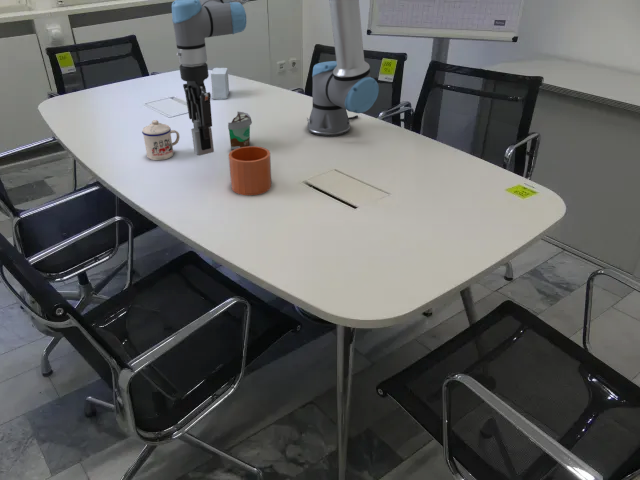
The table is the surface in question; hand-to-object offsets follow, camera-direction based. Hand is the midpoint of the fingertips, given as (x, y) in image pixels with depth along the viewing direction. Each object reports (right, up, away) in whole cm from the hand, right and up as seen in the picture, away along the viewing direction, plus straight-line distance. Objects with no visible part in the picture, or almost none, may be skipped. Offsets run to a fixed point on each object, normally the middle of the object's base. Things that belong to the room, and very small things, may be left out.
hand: (203, 146), depth 157 cm
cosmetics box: (-3, +39, +75) cm, 84 cm away
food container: (+10, +6, +25) cm, 27 cm away
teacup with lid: (-16, +2, +21) cm, 26 cm away
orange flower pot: (+14, -12, -1) cm, 19 cm away
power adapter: (0, -2, +1) cm, 2 cm away
